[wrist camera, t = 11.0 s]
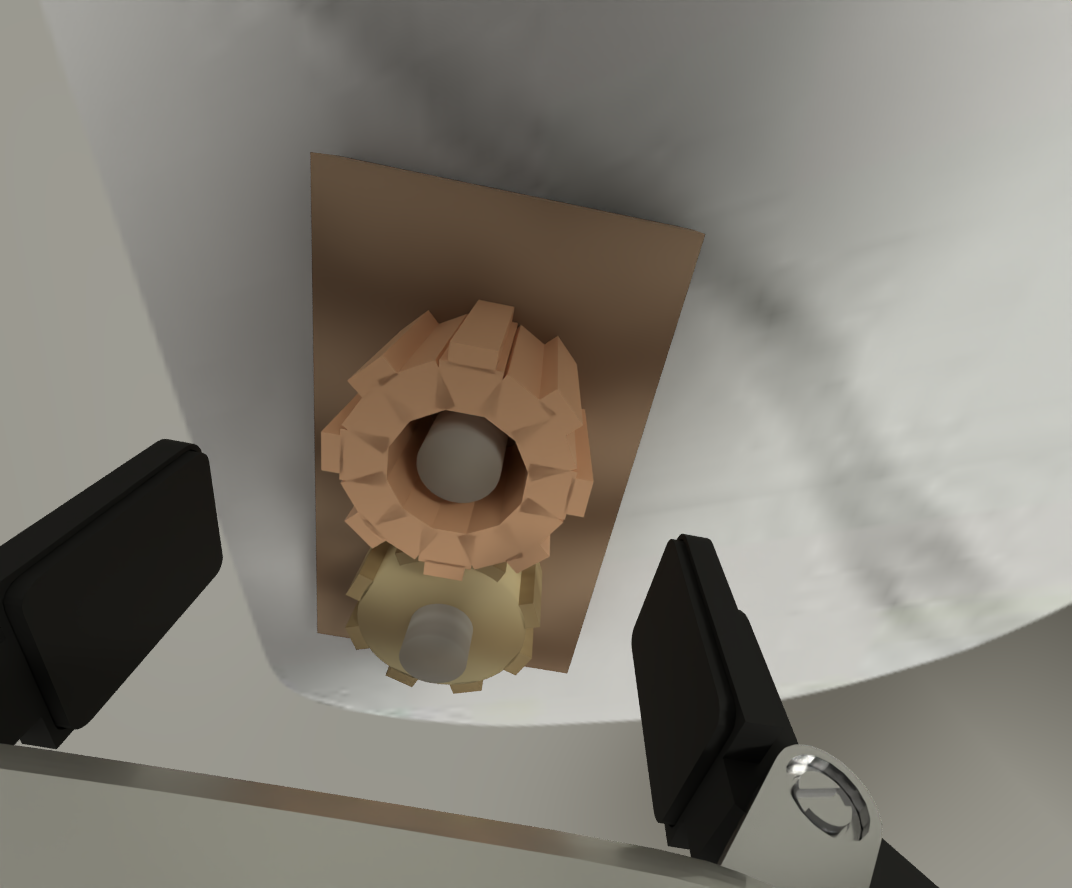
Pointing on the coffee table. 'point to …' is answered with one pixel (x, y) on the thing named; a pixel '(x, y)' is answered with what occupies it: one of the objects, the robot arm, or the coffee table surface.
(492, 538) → the loose gear
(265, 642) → the coffee table surface
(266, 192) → the coffee table surface
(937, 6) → the coffee table surface
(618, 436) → the gear board
